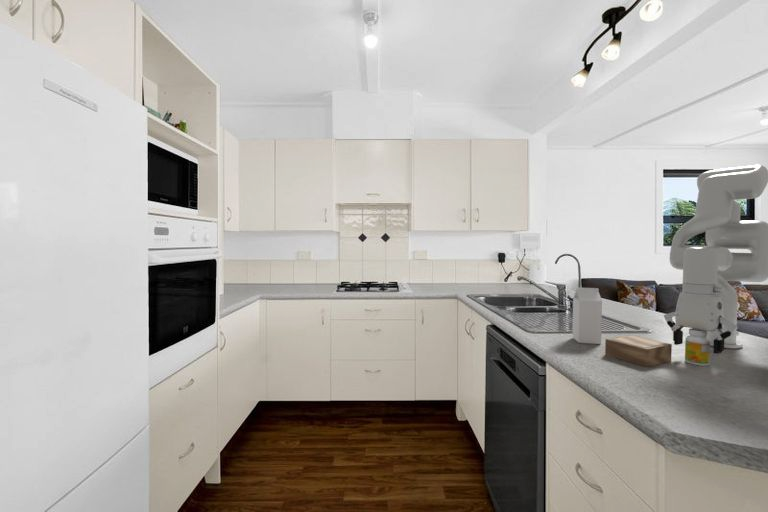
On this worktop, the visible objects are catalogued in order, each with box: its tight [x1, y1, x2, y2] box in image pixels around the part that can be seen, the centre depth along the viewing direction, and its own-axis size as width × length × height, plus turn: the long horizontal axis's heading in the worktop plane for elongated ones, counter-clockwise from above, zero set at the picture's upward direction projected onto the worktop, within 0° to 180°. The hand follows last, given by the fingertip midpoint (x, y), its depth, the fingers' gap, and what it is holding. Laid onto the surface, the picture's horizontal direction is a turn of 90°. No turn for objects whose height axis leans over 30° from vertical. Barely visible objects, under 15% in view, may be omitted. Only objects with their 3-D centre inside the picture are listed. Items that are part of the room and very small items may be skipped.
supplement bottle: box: [684, 328, 711, 367], centre depth 105 cm, size 5×5×10 cm
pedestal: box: [604, 334, 673, 368], centre depth 110 cm, size 12×12×5 cm
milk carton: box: [571, 287, 603, 345], centre depth 128 cm, size 7×7×19 cm
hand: (697, 348), depth 105 cm, fingers open, 9 cm apart
